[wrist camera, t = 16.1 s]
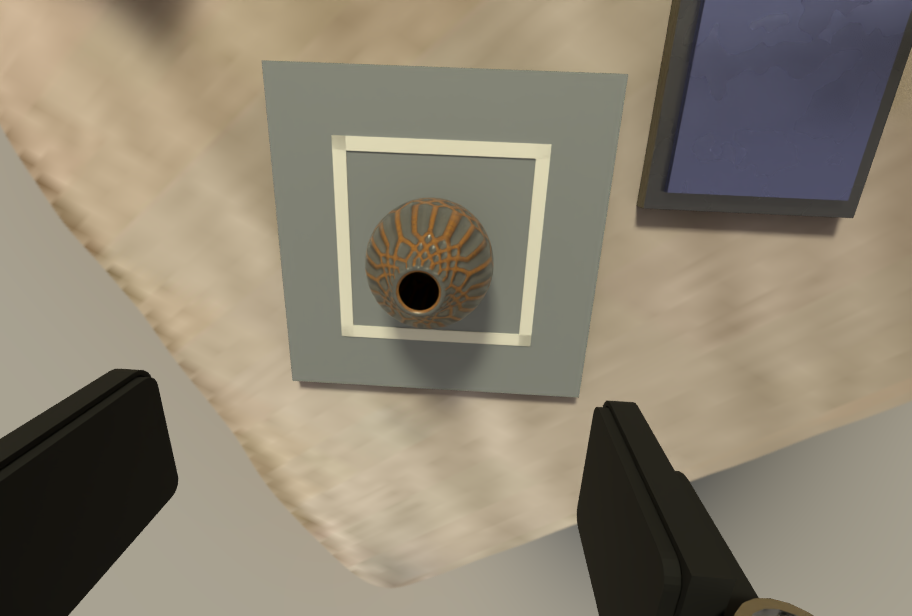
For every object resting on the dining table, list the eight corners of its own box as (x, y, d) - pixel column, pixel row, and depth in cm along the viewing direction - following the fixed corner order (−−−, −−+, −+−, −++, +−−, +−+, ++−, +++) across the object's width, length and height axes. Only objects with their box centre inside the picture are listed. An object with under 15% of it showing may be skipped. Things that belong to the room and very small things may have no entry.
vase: (364, 272, 29) (318, 325, 21) (407, 170, 27) (375, 184, 18) (461, 317, 30) (455, 385, 21) (511, 222, 27) (525, 257, 19)
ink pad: (915, -23, 23) (948, -35, 22) (838, 214, 27) (860, 219, 26) (677, -30, 24) (692, -42, 22) (636, 205, 28) (646, 209, 26)
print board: (622, 76, 25) (628, 74, 24) (575, 389, 32) (578, 398, 31) (269, 63, 26) (260, 60, 25) (298, 373, 33) (292, 381, 32)
